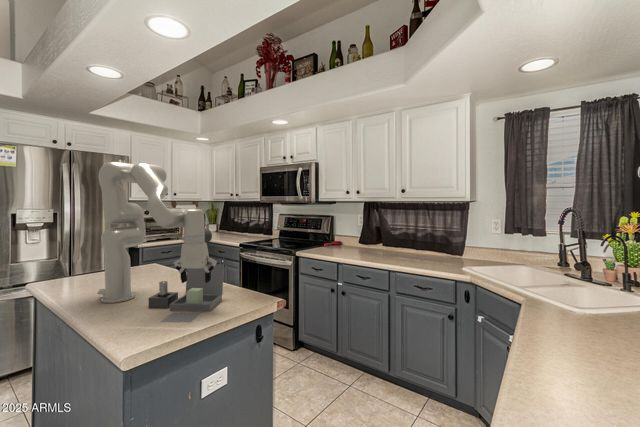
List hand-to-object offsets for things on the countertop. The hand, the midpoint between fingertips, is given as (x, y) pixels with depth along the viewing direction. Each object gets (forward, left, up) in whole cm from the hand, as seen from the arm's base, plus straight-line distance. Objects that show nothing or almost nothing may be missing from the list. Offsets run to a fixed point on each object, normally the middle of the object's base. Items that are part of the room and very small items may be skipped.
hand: (195, 282), depth 123 cm
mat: (-1, -11, -11) cm, 15 cm away
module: (-1, 0, -10) cm, 10 cm away
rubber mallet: (-10, +24, -11) cm, 28 cm away
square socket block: (-15, +2, -11) cm, 18 cm away
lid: (-1, +10, -1) cm, 10 cm away
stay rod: (-15, +2, -11) cm, 18 cm away
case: (-1, +2, -11) cm, 11 cm away
